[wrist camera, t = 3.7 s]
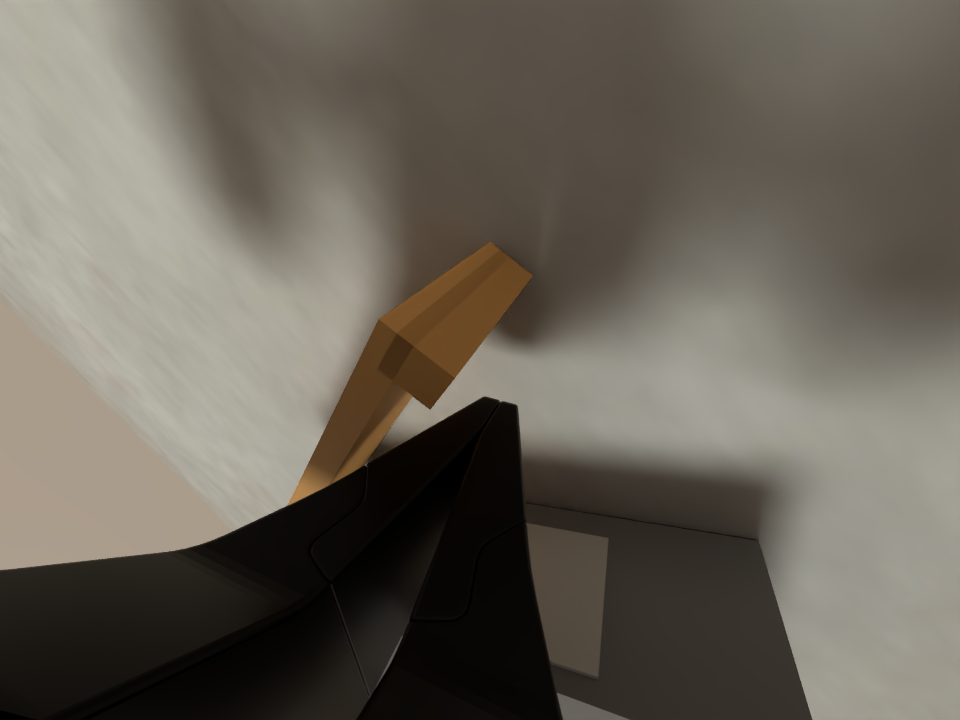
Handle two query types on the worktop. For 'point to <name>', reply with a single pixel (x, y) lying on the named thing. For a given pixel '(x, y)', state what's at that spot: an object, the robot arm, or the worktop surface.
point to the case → (658, 622)
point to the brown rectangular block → (413, 359)
